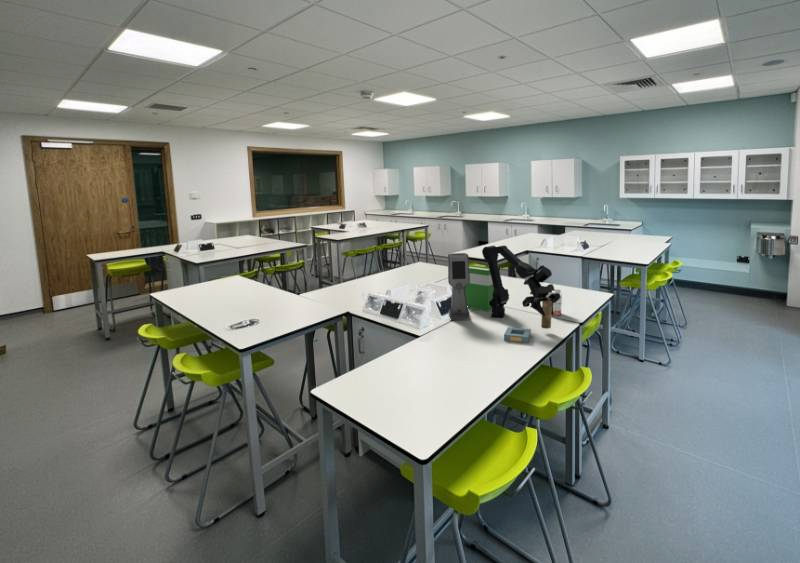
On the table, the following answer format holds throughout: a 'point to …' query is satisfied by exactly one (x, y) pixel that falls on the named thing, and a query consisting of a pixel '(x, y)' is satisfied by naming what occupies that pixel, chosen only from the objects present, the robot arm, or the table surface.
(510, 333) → the socket block
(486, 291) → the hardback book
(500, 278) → the robot arm
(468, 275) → the thermal camera
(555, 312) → the ink cartridge box
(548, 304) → the walnut peg
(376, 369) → the table surface
